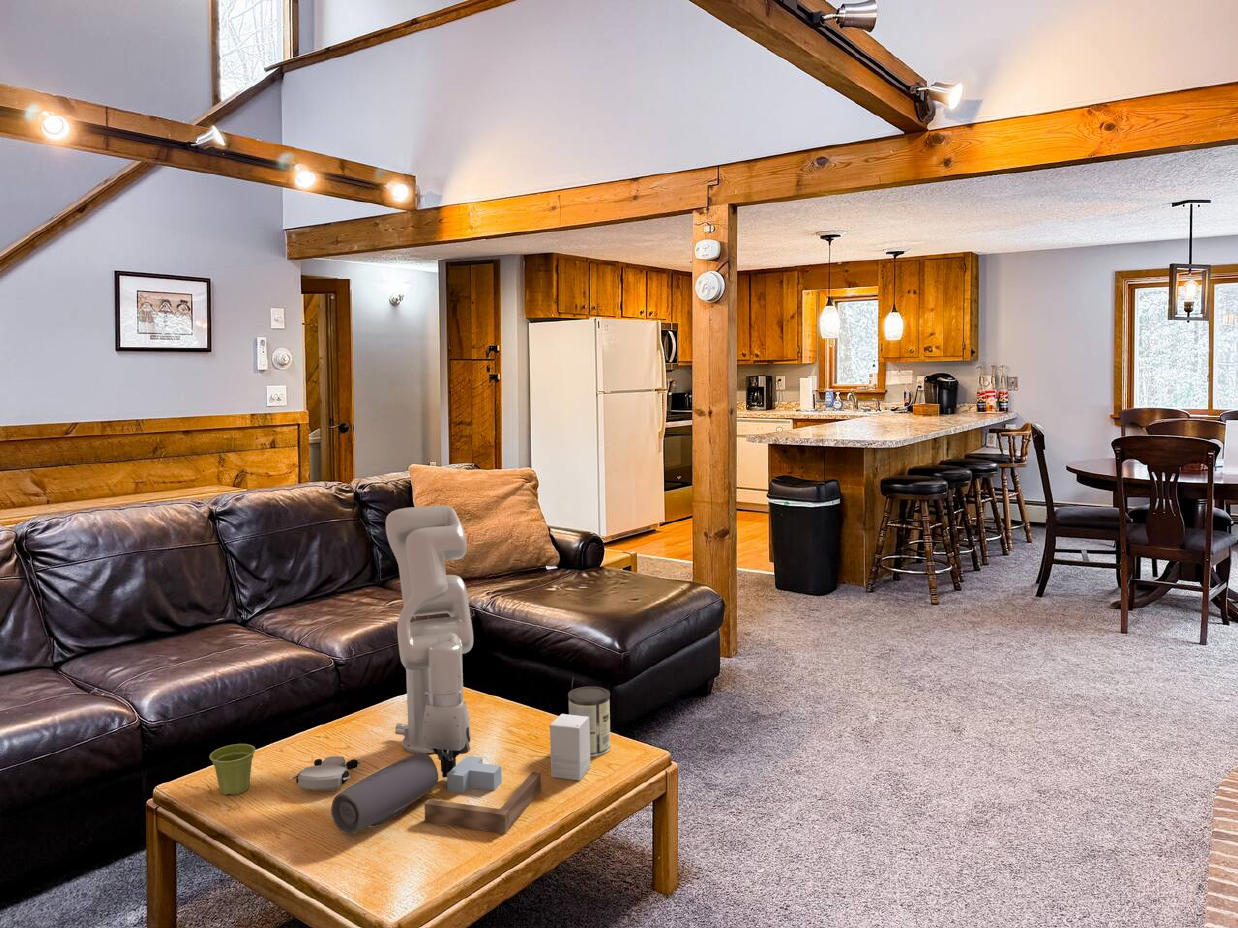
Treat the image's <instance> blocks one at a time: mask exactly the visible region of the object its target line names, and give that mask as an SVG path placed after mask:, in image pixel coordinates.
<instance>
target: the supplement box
mask: <svg viewBox="0 0 1238 928" xmlns="http://www.w3.org/2000/svg"><path fill="white" fill-rule="evenodd" d="M549 732H550V733H549V734H550V737H549V738H550V744H549V745H550V766H551V767H550V768H551V769H550V773H551V775H550V776H551V778H557V779H565V780H572V781H577V782H580V781H581V780H582V779H583V778H584V777H585V776H586V775H587V773H588V772H589V771H590V770H591V757H590V722H589V717H586V716H577V715H569V713H568V714H565V713H561V714H560V715H559V716H558V717H556V719H554V720H553V721H552V722H551V723H550V724H549Z"/></svg>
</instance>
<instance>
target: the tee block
mask: <svg viewBox="0 0 1238 928" xmlns="http://www.w3.org/2000/svg"><path fill="white" fill-rule="evenodd" d="M483 761H484V760H483V757H482V756H473V755H466V756H464V758H462V760H460V761H459V762H458V763H456V766H455V767H454V768H453V769H452V770H451V771H450V772H448V773H447V777H446V786H447V787H446V788H447V792H451V793H458V794H459V793H460V794H465V793H466V792H467V791H468V790H469V789H470V788H472V789H480V790H487V791H496V790H497V788H498V787H499V786H500V785H501V784H502V783H503V781H502V779H503V778H502V765H499V764H491V763H490V764H489V763H484V762H483Z"/></svg>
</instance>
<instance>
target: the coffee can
mask: <svg viewBox="0 0 1238 928" xmlns="http://www.w3.org/2000/svg"><path fill="white" fill-rule="evenodd" d="M610 697H611V693H610V690H609V689H606V688H603V687H601V686H582V687H580V686H579V687H577V688H573V689H572V690H570V691H569V692H568V694H567V698H568V715H577V716H586V717H589V722H590V758H594V757H600V756H603V755H605V754H608V753H609V752H610V750H611V718H610V717H611V714H610V713H611V711H610V709H611V707H610V705H611V703H610Z"/></svg>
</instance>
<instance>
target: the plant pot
mask: <svg viewBox="0 0 1238 928" xmlns="http://www.w3.org/2000/svg"><path fill="white" fill-rule="evenodd" d="M255 752H256V747H255V746H253V745H251V744H247V743H237V744H236V743H235V744H230V745H229V744H228V745H225V746H223V747H220V748H217V749H214V751H212V752H211V753H210V754H209V761H211V763H212V764H213V766H214V770H215V775H216V779H217V783H218V787H219V792H220V794H221V795H224V796H226V795H233V796H234V795H238V794H242V793H244V792H245V791H247V790H248V789H249V788H250V785H251V784H250V783H251V774H252V773H251V772H252V762H253V759H254V754H255Z"/></svg>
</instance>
